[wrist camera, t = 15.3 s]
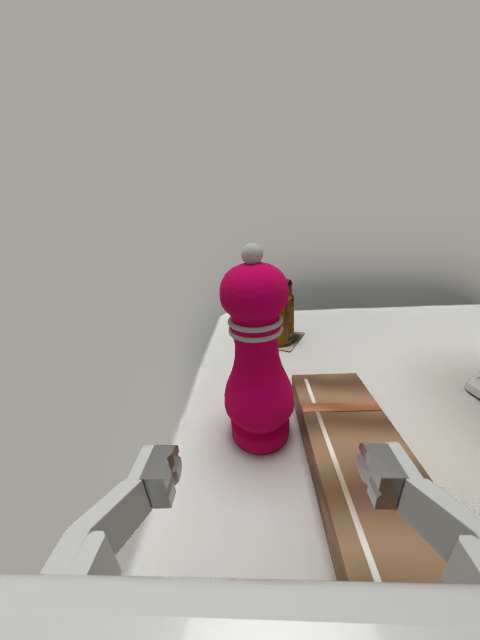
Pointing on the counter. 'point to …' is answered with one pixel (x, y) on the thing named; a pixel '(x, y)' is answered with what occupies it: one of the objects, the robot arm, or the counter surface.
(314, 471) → the board
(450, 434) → the counter surface
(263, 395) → the pepper mill
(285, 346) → the condiment
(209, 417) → the counter surface
